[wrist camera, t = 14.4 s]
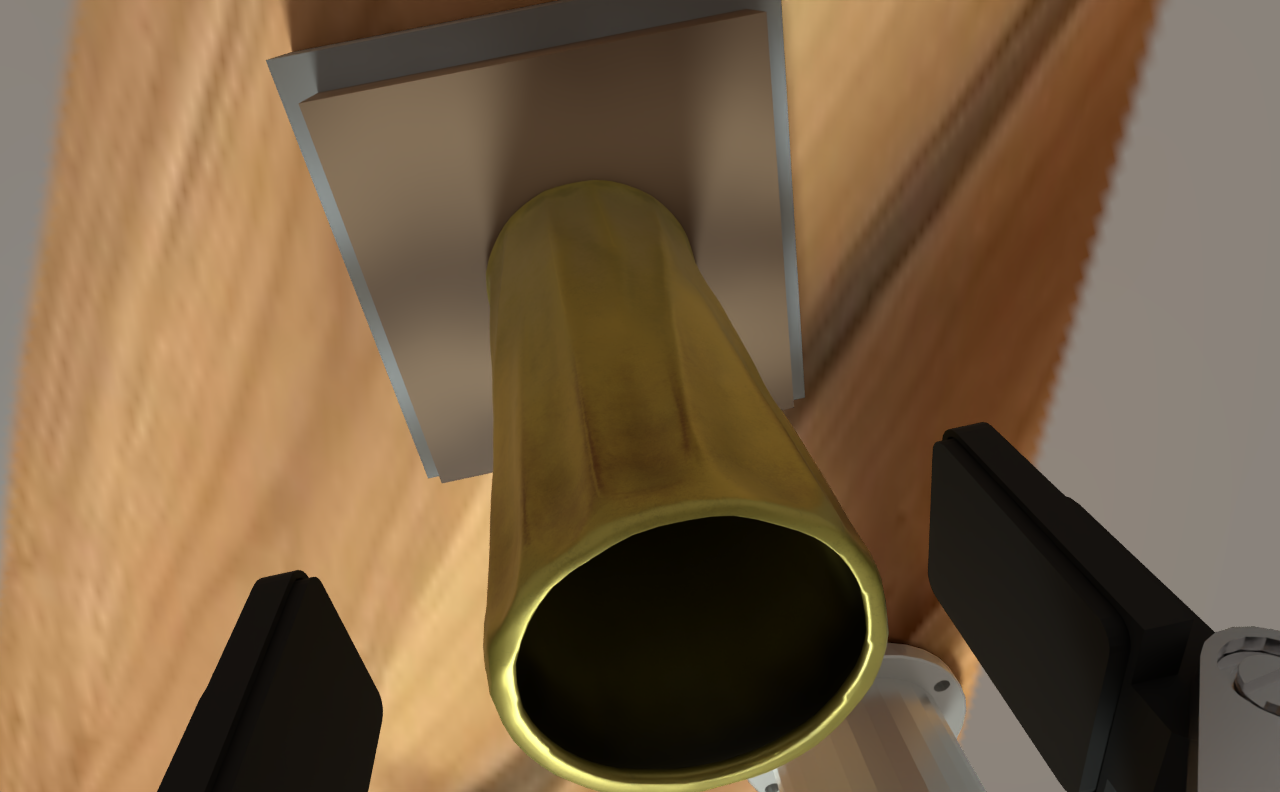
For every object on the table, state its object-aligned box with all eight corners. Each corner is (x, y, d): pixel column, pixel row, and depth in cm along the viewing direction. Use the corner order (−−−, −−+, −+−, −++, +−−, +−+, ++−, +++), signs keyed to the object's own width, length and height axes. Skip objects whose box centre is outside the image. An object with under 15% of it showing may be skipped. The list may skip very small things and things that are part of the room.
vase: (620, 131, 20) (797, 365, 7) (731, 304, 23) (992, 678, 10) (441, 261, 21) (334, 661, 8) (570, 411, 24) (631, 872, 11)
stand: (784, 366, 29) (823, 425, 25) (435, 440, 29) (421, 513, 25) (754, -38, 22) (802, -41, 18) (291, 52, 22) (240, 68, 18)
